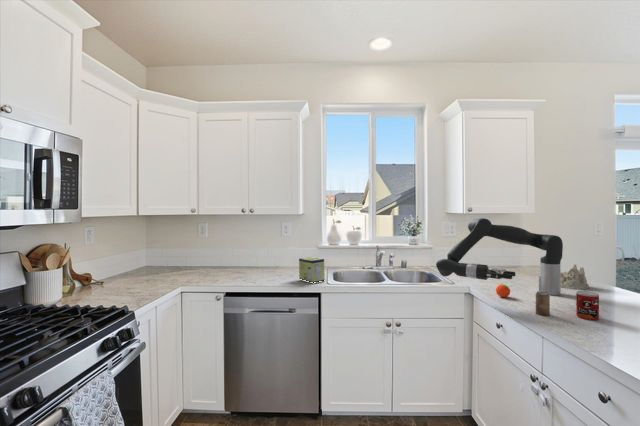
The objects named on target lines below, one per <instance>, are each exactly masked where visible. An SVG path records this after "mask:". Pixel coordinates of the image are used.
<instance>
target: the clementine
mask: <svg viewBox="0 0 640 426" xmlns="http://www.w3.org/2000/svg"><path fill="white" fill-rule="evenodd" d="M495 292H496V294H497V295H498V296H499V297H501V298H507V297H509V296H510V294H511V288H510V287H509V286H508V285H506V284H504V283H501V284H498V285H497V286H496V287H495Z"/></svg>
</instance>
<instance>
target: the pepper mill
mask: <svg viewBox="0 0 640 426" xmlns="http://www.w3.org/2000/svg"><path fill="white" fill-rule="evenodd" d="M550 296H551V295H549V294H548V292H546V291H539V290H536V292H535V314H536V315H538V316H542V317H550V315H551V314H550V313H551V312H550V309H551V308H550V307H551V305H550V303H551V302H550V299H551V298H550Z"/></svg>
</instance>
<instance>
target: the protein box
mask: <svg viewBox="0 0 640 426" xmlns="http://www.w3.org/2000/svg"><path fill="white" fill-rule="evenodd" d="M298 273H299V274H298V276H299V277H298V278H299V279H302V280H306V281H309V282H313V283H314V282H319V281H324V280H325V279H326V278H325V259H324V258H319V257H313V256H312V257H311V256H309V257H301V258H299V259H298Z"/></svg>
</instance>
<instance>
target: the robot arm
mask: <svg viewBox="0 0 640 426" xmlns="http://www.w3.org/2000/svg"><path fill="white" fill-rule="evenodd" d="M467 229H468V231H469V234H467V236H466V237H464V238H462V239H461V240H460V241H458V242H457V243H456V244H455V245H454V246H453V247H452V248H451V249H450V250H449V252H448V253H447V257H446V258H442V259H439V260H437V261H436V269H437V271H438V272H439V274H440V275H441V276H442V277H450V276H451V275H452V274H455V275H456V276H458V277H462V278H463V277H464V278H470V279H475V280H483V281H484V280H485V281H488V279H496V280H502V279H506V280H512V279H513V277H516V272H515V271H510V270H507V269H502V268H501V269H500V268H491V269H489V265H488V264H480V263H466V262H460V261H461V260H462V259H463V257H465V256H466V255H467V253H468V252H469V251H470V250H471V249H472V248H473V247H474V246H475V245H476V244H478V242H480V241H481V240H482V239H483V238H485V237H489V238H493V239H497V240H501V241H504V242H508V243H511V244H512V243H513V244H516V245H521V246H522V245H524V246H525V245H526V246H531V247H534V248H537V249H539V250H542V251H544V252H545V251H546V252H545V255H544V256H542V257H540V258H539V259H540V261H539V262H540V264H539V265H540V275H538V291H546V292H548V294H549V295H550V296H560V295H561V292H562V291H561V290H562V289H561V288H562V287H561V273H562V272H561V261H562V259H563V252H564V251H563V250H564V246H563V245H564V244H563V240H562V238H561V237H560V236H559V235H555V234H554V235H553V234H541V233H534V232H531V231H528V230H526V229H524V228H521V227H518V226H512V225H503V224H492V221H490V219H488V218H484V217H483V218H475V219H473V220H471V221H470V222H469V223H468V225H467Z"/></svg>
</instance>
